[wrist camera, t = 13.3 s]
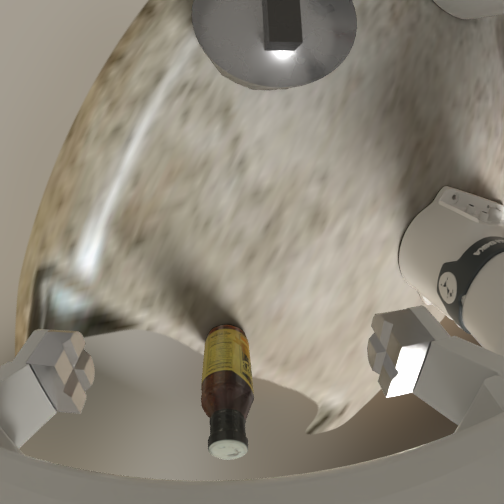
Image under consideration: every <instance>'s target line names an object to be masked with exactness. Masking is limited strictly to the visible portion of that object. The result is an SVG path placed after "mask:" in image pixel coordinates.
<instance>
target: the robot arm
mask: <svg viewBox="0 0 504 504" xmlns="http://www.w3.org/2000/svg"><path fill="white" fill-rule="evenodd" d="M453 195H454V196H453ZM452 196H453V198H452ZM399 266H400V271H401V274H402V276H403V278H404V279H405V281H406V282H407V283H408V284H409V285H410V286H411V287H413V288H414V289H416V290H417V291H418V292H419V295H420V297H421V299H422V301H423V302H425V303H426V304H427V305H430V304H433V305H434V306H435V307H436V308H438V309H439V310H440V311H441V312H442V313H444V314H445V315H446V316H447V317H448V318H450V319H452V320H454V321H455V323H456V324H457V325H458V326H459V327H460V328H461V329H463V330H464V331H465V332H466V333H469V334H472V335H473V337H475V339H476V340H477V341H478V342H479V343H480V344H481V346H482V347H483V348H482V347H480V346H477V345H475V344H473V343H470V342H468V341H466V340H464V339H461V338H459V337H457V336H453V337H451V336H450V335H449V334H448V333H447V332H446V330H445V329H444V328H443V327H442V326H441V324H440V323H439V322H438V321H437V320H436V319H435V318H434V316H433V315H432V314H431V313H430V312H429V311H428V310H427V308H426V307H424V306H416V307H411V308H407V309H403V310H397V311H391V312H385V313H378V314H375V315H374V317H373V320H372V325H371V327H372V328H373V330H374V334H373V335H372V336H371V337H370V338H369V341H368V347H367V352H368V360H369V364H370V366H371V368H372V370H373V371H375V372H376V373H378V374H380V376H379V380H378V382H379V384H380V386H381V388H382V390H383V392H384V394H385V396H386V398H388V397H392V396H397V395H401V394H406V393H410V392H413V394H415V395H416V396H417V397H419V398H420V399H422V400H423V401H425V402H426V403H427V404H429V405H430V406H432V407H433V408H434V409H436V410H437V411H439V412H440V413H442V414H443V415H444V416H446V417H447V418H449V419H450V420H451V421H453V422H454V423H456V424H457V425H459V426H458V427H457V429H456V431H455V432H454V434H452V435H449V436H447V437H444V438H441V439H439V440H436V441H433V442H430V443H427V444H425V445H422V446H419V447H416V448H413V449H409V450H406V451H403V452H400V453H396V454H393V455H389V456H386V457H382V458H379V459H374V460H370V461H367V462H363V463H358V464H353V465H349V466H344V467H339V468H334V469H329V470H323V471H317V472H311V473H304V474H297V475H290V476H281V477H272V478H261V479H247V480H223V481H187V480H165V479H150V478H140V477H129V476H122V475H114V474H107V473H101V472H95V471H89V470H84V469H79V468H74V467H69V466H64V465H60V464H55V463H51V462H48V461H44V460H40V459H36V458H33V457H29V456H26V455H24V454H23V453H22V452H21V451H20V450H19V448H20V447H21V446H22V445H23V444H24V443H25V442H26V441H27V440H28V439H29V438H30V437H31V436H32V435H33V434H35V433H36V432H37V431H38V430H39V429H40V428H41V427H42V426H43V425H44V424H45V423H46V422H47V421H48V420H49V419H50V418H51V417H52V416H53V415H54V414H56V411H59V412H68V413H77V414H81V411H82V408H83V406H84V403H85V401H86V399H87V396H86V393H85V391H86V390H87V389H88V388H90V387H91V386H92V383H93V380H94V373H95V368H94V364H93V360H92V358H91V355H90V354H89V353H87V352H86V351H85V350H84V347H85V344H86V343H85V340H84V338H83V336H82V334H81V333H79V332H78V331H61V330H42V329H38V330H35V331H34V332H33V333H32V334H31V336H30V337H29V339H28V340H27V341H26V343H25V344H24V346H23V347H22V348H21V350H20V351H19V353H18V354H17V356H16V357H15V358H14V360H13V362H7V363H6V364H4V365H2V366H0V504H504V206H503V205H502V204H500V203H497V202H494V201H491V200H489V199H486V198H483V197H480V196H477V195H474V194H471V193H468V192H465V191H462V190H459V189H455V188H452V187H449V186H444V187H443V188H442V189H441V190H440V191H439V193H438V194H437V196H436V197H435V199H434V201H433V202H432V203H431V204H430V205H429V206H428V207H426V208H425V209H424V210H422V211H421V212H420V213H419V214H418V215H417V216H416V217H415V218H414V220H413V221H412V222H411V224H410V225H409V227H408V228H407V230H406V232H405V234H404V237H403V240H402V243H401V246H400V252H399Z"/></svg>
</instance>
